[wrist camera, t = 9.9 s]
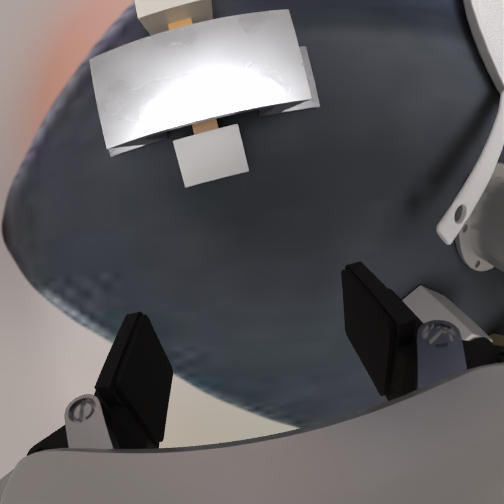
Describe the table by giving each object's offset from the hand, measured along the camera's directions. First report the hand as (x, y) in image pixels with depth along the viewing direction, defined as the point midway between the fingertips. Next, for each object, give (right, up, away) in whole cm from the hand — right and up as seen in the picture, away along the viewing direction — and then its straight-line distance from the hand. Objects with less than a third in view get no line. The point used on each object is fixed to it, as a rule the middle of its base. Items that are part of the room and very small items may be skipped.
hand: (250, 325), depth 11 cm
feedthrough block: (-3, +14, +9) cm, 17 cm away
